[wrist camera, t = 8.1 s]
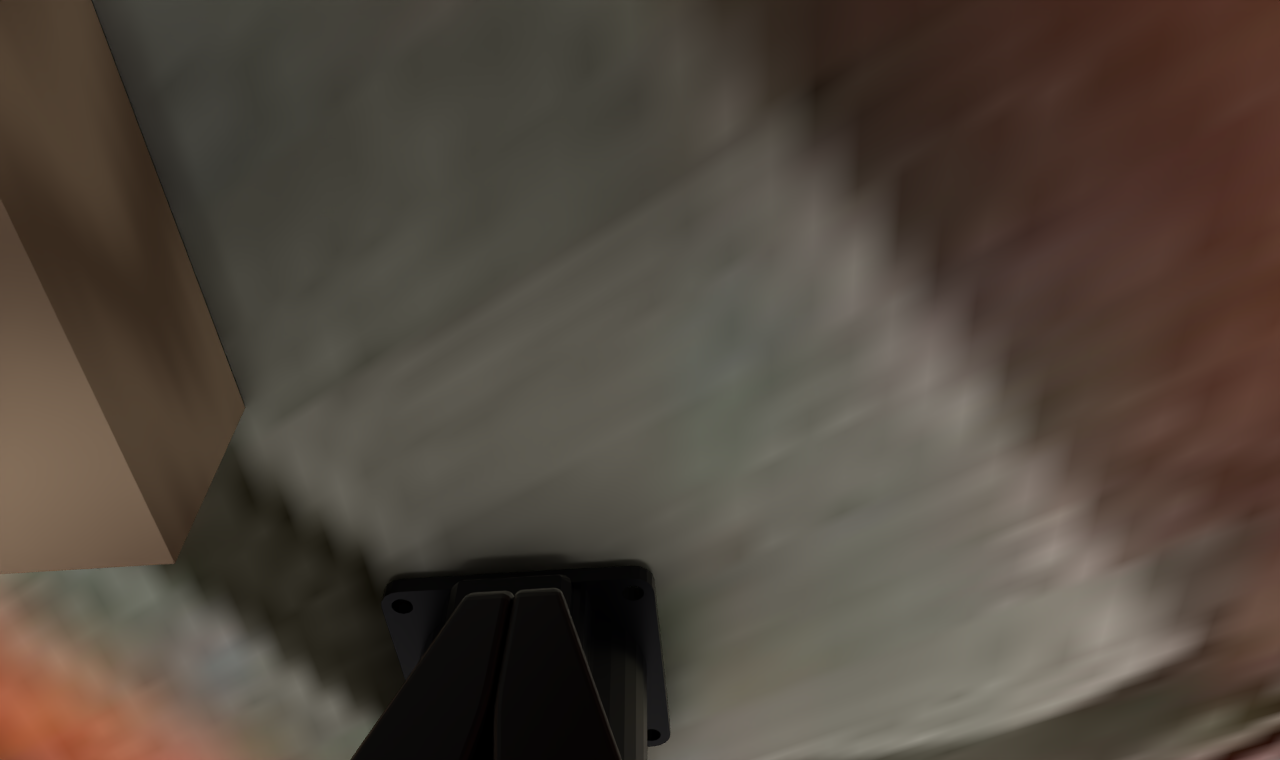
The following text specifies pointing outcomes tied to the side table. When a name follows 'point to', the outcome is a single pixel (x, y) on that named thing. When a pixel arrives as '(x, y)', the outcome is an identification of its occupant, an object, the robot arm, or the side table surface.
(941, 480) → the side table surface
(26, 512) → the stepped beige slab
